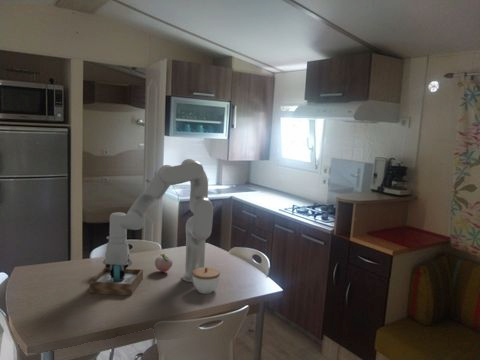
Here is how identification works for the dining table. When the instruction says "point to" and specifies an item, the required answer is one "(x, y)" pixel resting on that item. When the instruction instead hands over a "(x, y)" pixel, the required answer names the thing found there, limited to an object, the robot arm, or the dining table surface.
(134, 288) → the bore box
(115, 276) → the peg
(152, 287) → the dining table surface
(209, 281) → the lidded bowl
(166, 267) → the decorative fruit
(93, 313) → the dining table surface
